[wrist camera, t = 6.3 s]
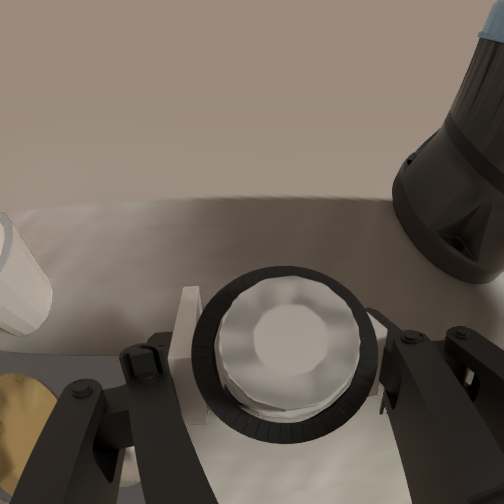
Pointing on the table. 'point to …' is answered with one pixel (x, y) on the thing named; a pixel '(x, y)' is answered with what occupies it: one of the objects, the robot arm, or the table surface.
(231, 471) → the table surface
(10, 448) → the carrier plate
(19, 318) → the white tapered cup
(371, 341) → the push button
